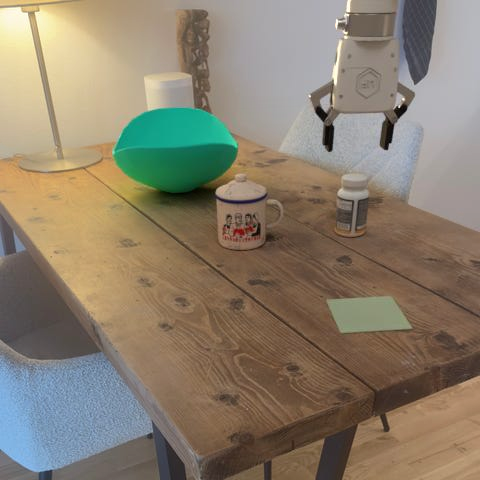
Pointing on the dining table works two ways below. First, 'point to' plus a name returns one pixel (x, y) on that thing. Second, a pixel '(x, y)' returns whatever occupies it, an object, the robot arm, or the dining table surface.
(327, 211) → the dining table surface
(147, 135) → the table top decor
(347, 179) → the pill bottle
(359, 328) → the mat
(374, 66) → the robot arm
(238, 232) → the teacup with lid
